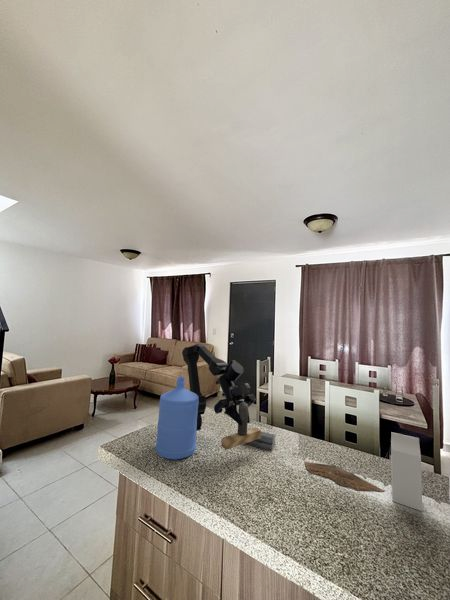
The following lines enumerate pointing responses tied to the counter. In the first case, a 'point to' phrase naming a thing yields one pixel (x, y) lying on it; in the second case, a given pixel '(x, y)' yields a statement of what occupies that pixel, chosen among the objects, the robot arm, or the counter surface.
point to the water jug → (177, 423)
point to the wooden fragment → (341, 476)
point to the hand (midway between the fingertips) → (245, 423)
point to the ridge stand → (264, 441)
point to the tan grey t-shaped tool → (241, 431)
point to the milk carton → (406, 470)
